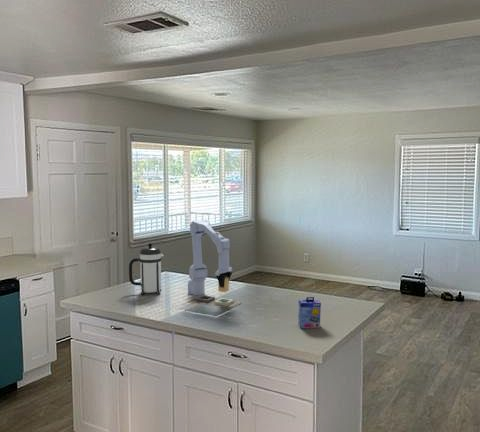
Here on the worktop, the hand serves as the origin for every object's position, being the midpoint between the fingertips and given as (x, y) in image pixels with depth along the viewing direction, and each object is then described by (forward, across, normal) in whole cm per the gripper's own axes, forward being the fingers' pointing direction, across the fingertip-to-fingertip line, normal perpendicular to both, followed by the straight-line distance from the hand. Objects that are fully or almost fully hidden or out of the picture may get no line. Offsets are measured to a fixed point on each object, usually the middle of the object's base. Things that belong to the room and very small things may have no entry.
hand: (223, 286), depth 259 cm
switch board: (+10, 0, +6) cm, 12 cm away
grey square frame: (+10, 0, +12) cm, 16 cm away
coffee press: (+11, 0, +52) cm, 53 cm away
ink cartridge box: (+11, -11, -53) cm, 55 cm away
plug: (+2, 0, 0) cm, 3 cm away
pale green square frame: (+10, 0, 0) cm, 10 cm away
